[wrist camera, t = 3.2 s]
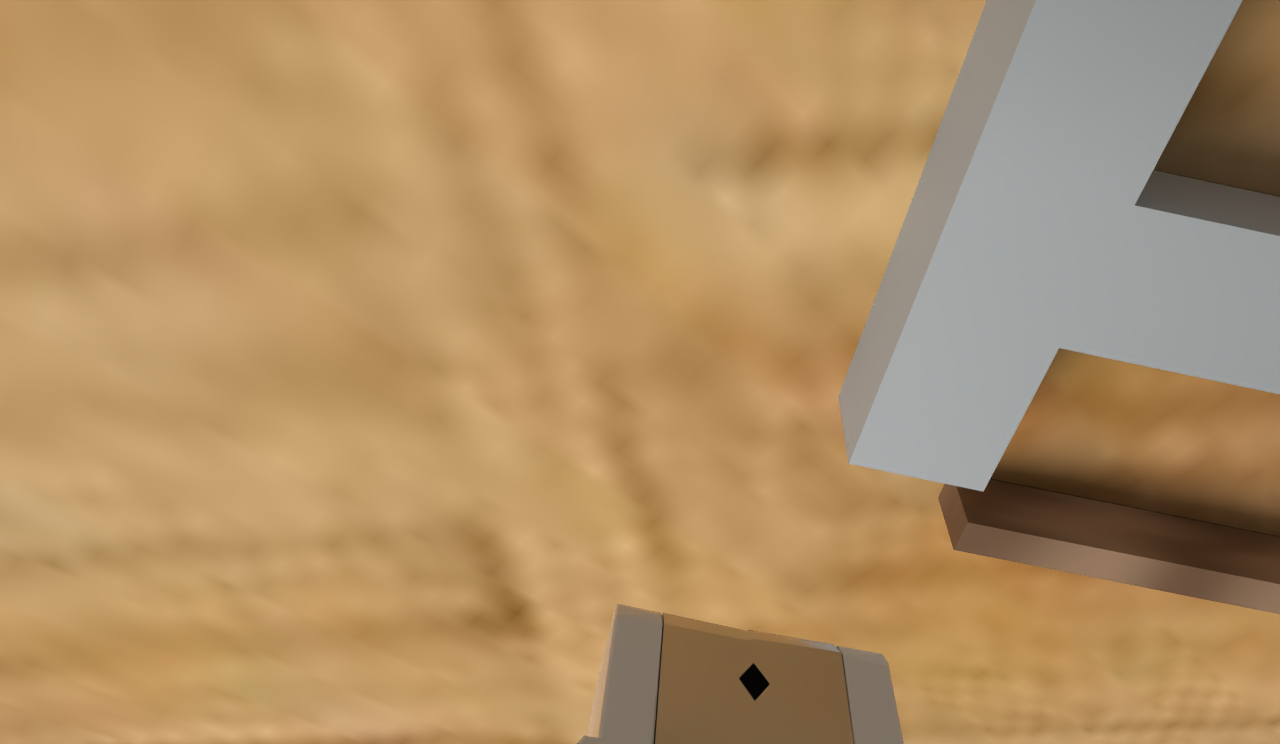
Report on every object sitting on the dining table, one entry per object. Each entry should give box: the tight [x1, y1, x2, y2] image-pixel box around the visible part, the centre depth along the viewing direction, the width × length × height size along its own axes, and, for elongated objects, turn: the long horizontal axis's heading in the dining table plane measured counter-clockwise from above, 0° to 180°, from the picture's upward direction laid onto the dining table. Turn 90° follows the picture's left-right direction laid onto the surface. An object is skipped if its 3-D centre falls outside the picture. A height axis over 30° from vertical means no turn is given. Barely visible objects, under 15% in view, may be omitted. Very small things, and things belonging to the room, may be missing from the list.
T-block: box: [839, 0, 1280, 491], centre depth 23 cm, size 11×14×4 cm
